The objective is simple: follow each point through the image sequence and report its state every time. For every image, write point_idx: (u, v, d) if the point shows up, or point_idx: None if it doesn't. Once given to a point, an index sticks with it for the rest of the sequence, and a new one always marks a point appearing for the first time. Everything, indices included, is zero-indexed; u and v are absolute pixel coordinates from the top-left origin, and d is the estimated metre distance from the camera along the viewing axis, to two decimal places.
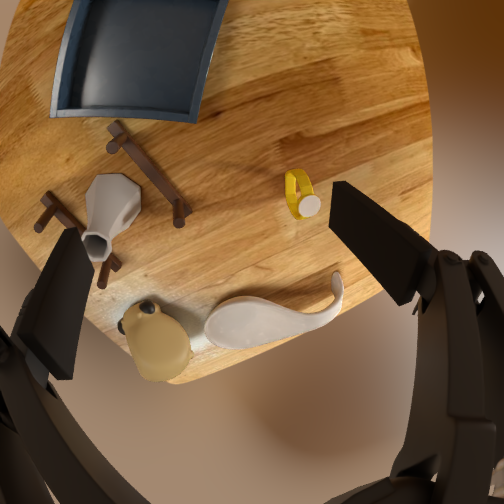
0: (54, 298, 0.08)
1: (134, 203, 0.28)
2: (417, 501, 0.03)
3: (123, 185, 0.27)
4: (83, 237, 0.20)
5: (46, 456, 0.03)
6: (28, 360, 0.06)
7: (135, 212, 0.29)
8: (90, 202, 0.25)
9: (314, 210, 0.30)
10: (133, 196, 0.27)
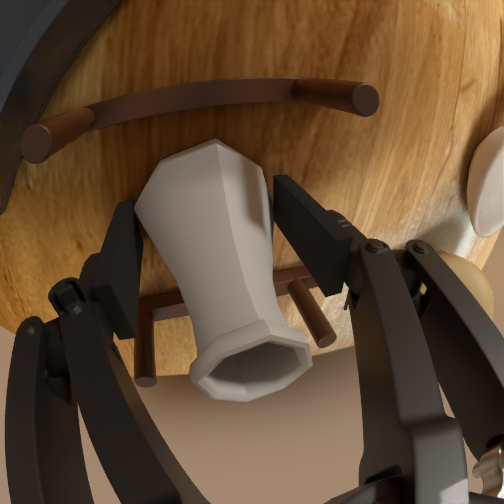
0: (122, 258, 0.10)
1: (237, 170, 0.12)
2: None
3: (184, 168, 0.11)
4: (205, 387, 0.06)
5: (102, 420, 0.04)
6: (100, 319, 0.08)
7: (256, 181, 0.12)
8: None
9: None
10: (220, 162, 0.11)
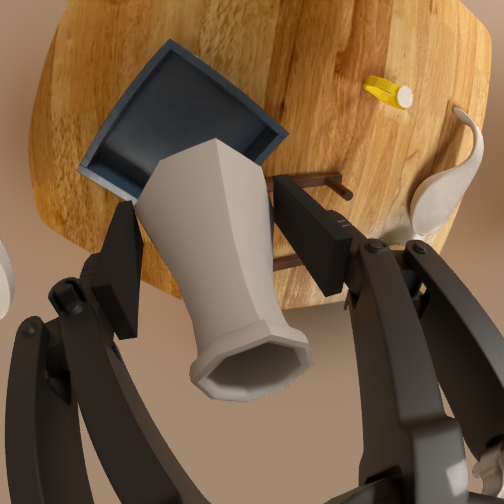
0: (123, 258, 0.10)
1: (237, 170, 0.12)
2: None
3: (184, 167, 0.11)
4: (205, 387, 0.06)
5: (102, 420, 0.04)
6: (100, 319, 0.08)
7: (256, 181, 0.12)
8: None
9: (409, 95, 0.23)
10: (221, 162, 0.11)
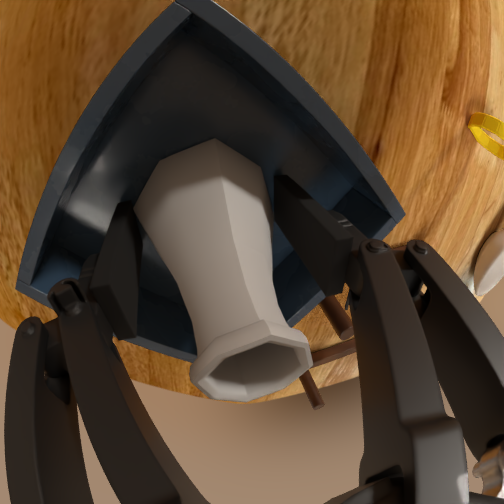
0: (122, 259, 0.10)
1: (237, 170, 0.12)
2: None
3: (183, 168, 0.11)
4: (205, 387, 0.06)
5: (102, 420, 0.04)
6: (99, 319, 0.08)
7: (255, 181, 0.12)
8: None
9: None
10: (220, 163, 0.11)
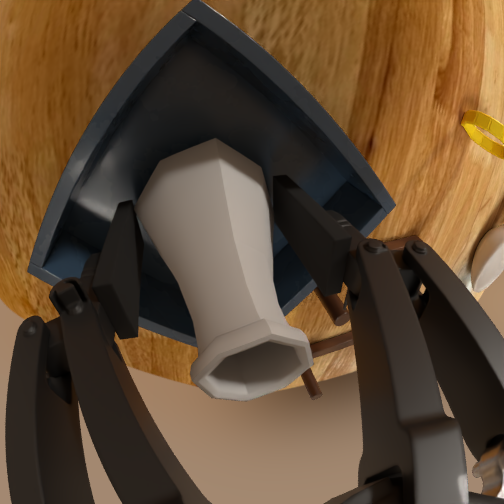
0: (123, 258, 0.10)
1: (237, 170, 0.12)
2: None
3: (184, 168, 0.11)
4: (206, 386, 0.06)
5: (103, 419, 0.04)
6: (101, 318, 0.08)
7: (256, 181, 0.13)
8: None
9: None
10: (220, 162, 0.11)
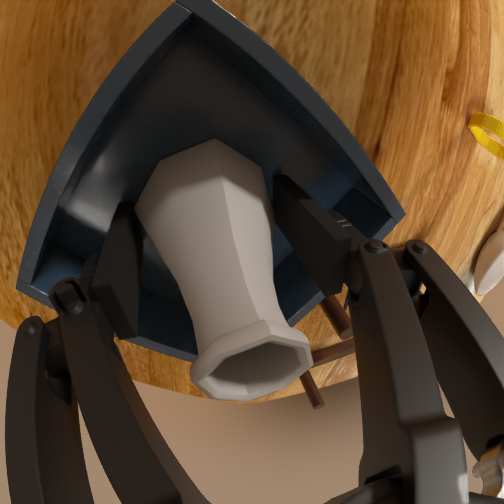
0: (123, 258, 0.10)
1: (237, 170, 0.12)
2: None
3: (184, 168, 0.11)
4: (206, 387, 0.06)
5: (103, 419, 0.04)
6: (100, 319, 0.08)
7: (256, 181, 0.12)
8: None
9: None
10: (220, 162, 0.11)
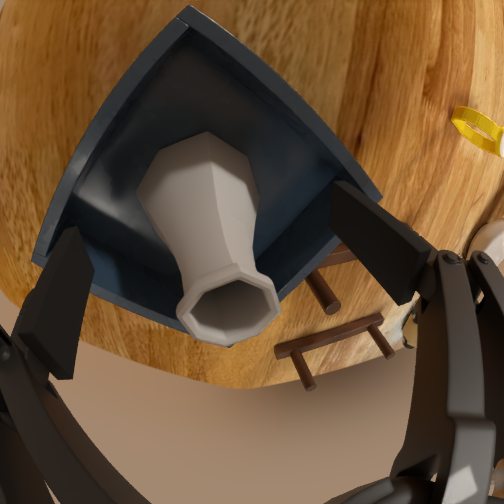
0: (54, 298, 0.08)
1: (225, 157, 0.14)
2: (417, 501, 0.03)
3: (180, 155, 0.13)
4: (189, 324, 0.08)
5: (46, 456, 0.03)
6: (28, 360, 0.06)
7: (241, 167, 0.14)
8: (161, 235, 0.13)
9: None
10: (211, 151, 0.13)
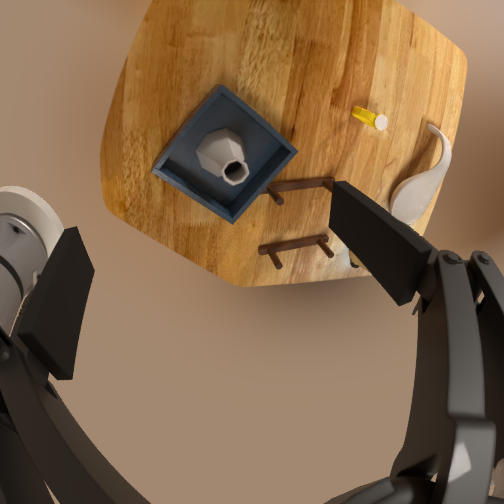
0: (54, 298, 0.08)
1: (233, 137, 0.36)
2: (417, 501, 0.03)
3: (216, 135, 0.35)
4: (223, 174, 0.30)
5: (46, 456, 0.03)
6: (28, 360, 0.06)
7: (239, 141, 0.36)
8: (208, 163, 0.35)
9: (385, 121, 0.36)
10: (227, 134, 0.35)
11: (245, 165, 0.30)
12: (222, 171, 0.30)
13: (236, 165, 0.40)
